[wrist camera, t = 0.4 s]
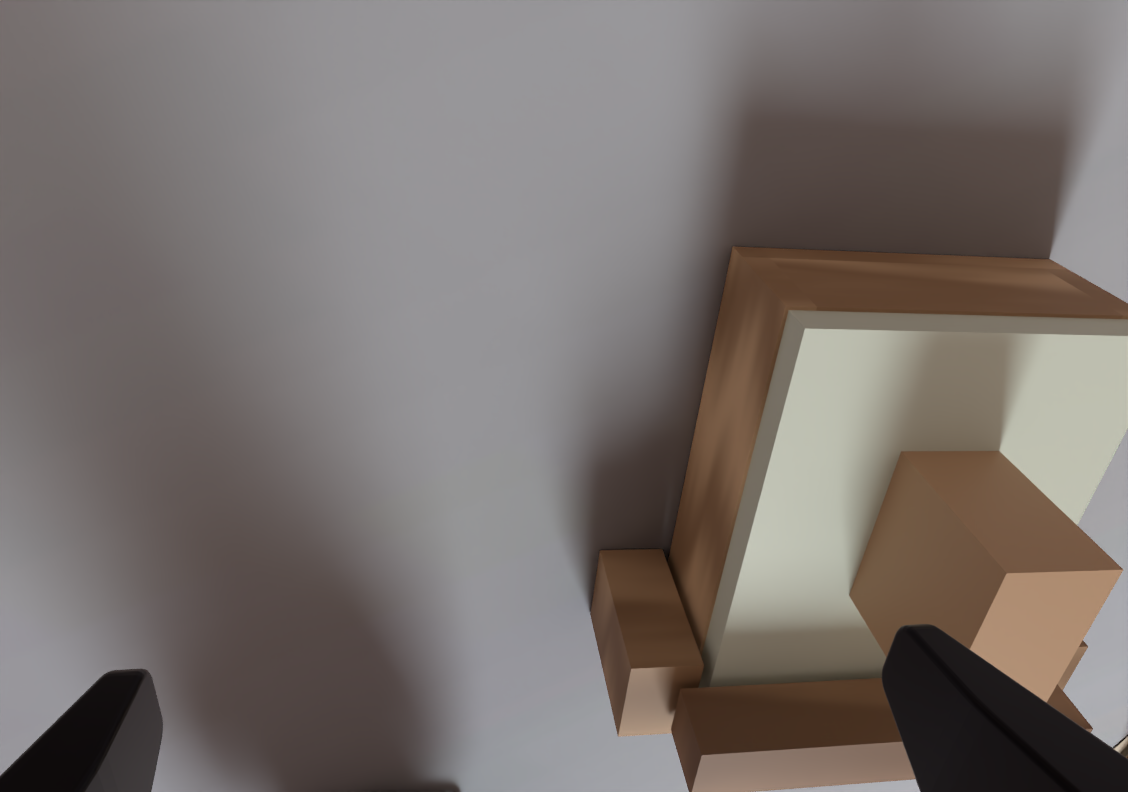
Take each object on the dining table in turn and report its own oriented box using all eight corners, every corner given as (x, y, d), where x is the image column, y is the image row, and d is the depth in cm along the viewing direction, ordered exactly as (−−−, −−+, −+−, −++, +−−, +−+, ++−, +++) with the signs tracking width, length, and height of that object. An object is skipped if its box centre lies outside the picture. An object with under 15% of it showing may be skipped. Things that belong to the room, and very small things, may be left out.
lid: (945, 723, 29) (1044, 880, 24) (680, 740, 27) (731, 912, 23) (1145, 320, 21) (1348, 437, 16) (788, 309, 19) (901, 437, 15)
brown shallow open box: (950, 636, 33) (1028, 747, 29) (584, 653, 30) (610, 777, 26) (1123, 262, 25) (1268, 337, 21) (645, 243, 22) (697, 324, 18)
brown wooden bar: (1023, 706, 27) (1068, 767, 25) (670, 729, 25) (690, 796, 23) (1045, 669, 26) (1093, 728, 24) (680, 688, 24) (701, 755, 22)
